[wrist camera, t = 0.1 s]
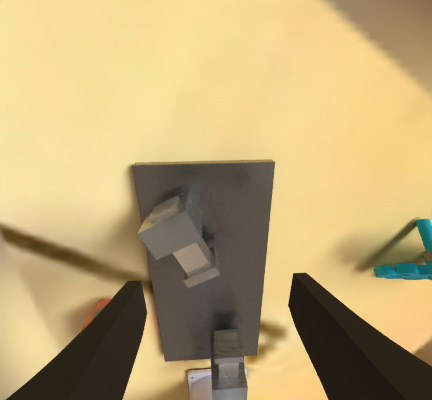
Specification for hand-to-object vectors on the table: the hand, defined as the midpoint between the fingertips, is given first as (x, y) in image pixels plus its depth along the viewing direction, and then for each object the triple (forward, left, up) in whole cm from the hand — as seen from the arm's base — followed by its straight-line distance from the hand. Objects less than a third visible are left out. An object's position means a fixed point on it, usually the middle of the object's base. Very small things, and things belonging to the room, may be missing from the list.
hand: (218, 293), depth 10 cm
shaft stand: (-8, 0, -10) cm, 13 cm away
